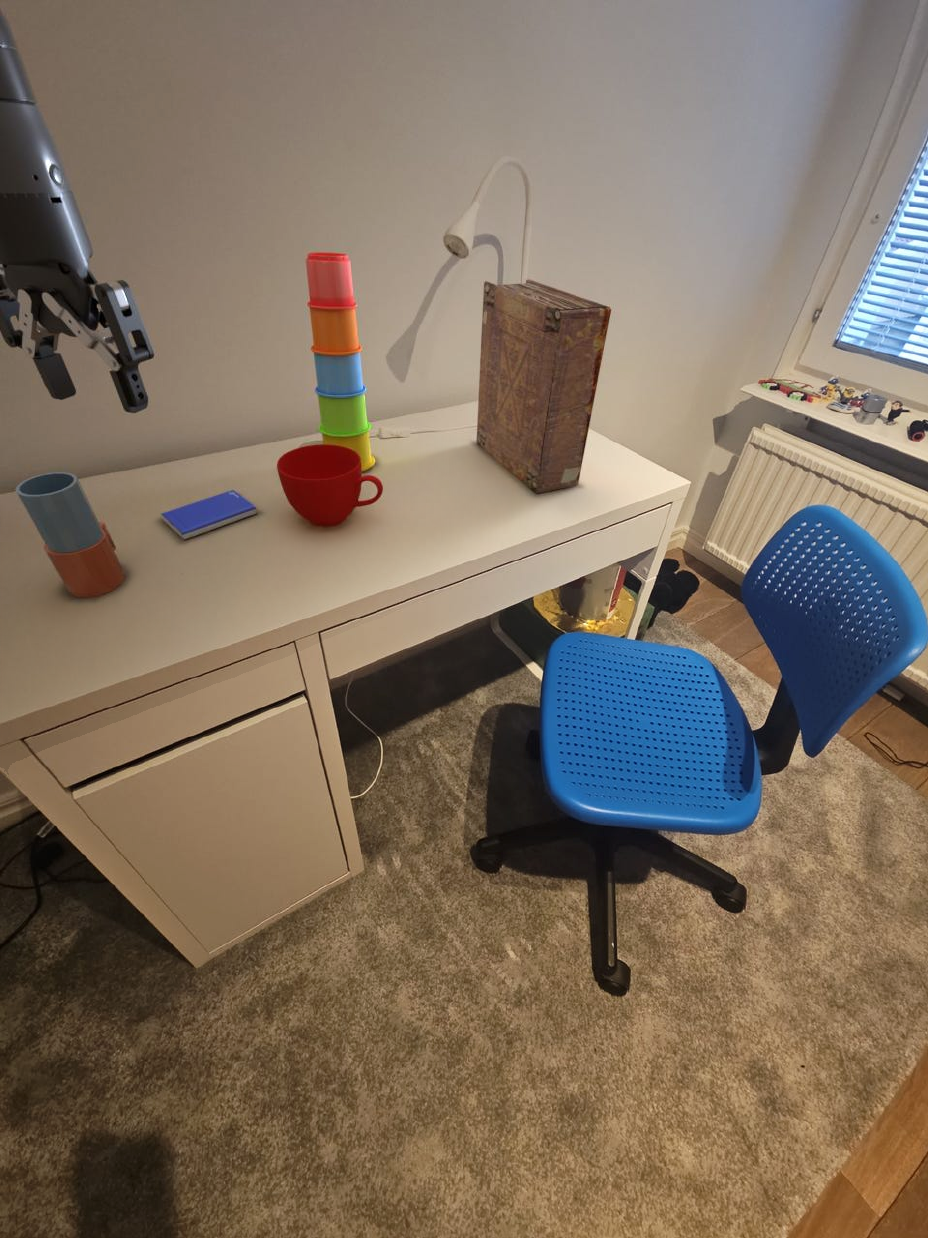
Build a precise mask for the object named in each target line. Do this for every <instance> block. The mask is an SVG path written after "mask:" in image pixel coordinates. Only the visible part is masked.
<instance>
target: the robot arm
mask: <svg viewBox="0 0 928 1238" xmlns="http://www.w3.org/2000/svg"><path fill="white" fill-rule="evenodd" d="M93 254H94V249H93V246H92V243H91V240H90V238H89V234H88V232H87V229H86V226H85V223H84V221H83V218H82V215H81V211H80V209H79V205H78V203H77V200H76V198H75V195H74V192H73V189H72V187H71V183H70V180H69V178H68V175H67V172H66V169H65V166H64V163H63V160H62V158H61V155H60V152H59V149H58V146H57V144H56V142H55V140H54V138H53V135H52V132H51V131H50V129H49V127H48V125H47V123H46V120H45V118H44V115H43V113H42V111H41V108H40V106H39V105H38V101H37V98H36V95H35V92H34V89H33V86H32V83H31V81H30V77H29V75H28V72H27V69H26V66H25V63H24V60H23V57H22V55H21V52H20V51H19V46H18V43H17V41H16V38H15V35H14V33H13V30H12V27H11V25H10V22H9V20H8V18H7V16H6V13H5V11H4V10H3V7H2V6H1V5H0V265H1V266H0V334H1V336H2V338H3V340H4V342H5V343H6V345H8V347H10V348H14V349H15V348H17V347H18V348H19V349H21V350H22V351H23V353H24V354H25V355H26V356H27V357H28V358H31V359H32V360H33V362H34V365H35V366H36V369H37V371H38V374H39V375H40V377H41V380H42V382H43V384H44V386H45V388H46V389H47V391H48V393H49V395H50V397H51V398H52V399H54V400H59V401H63V400H66V399H69V398H71V397H74V396H75V395H76V394H77V389H76V387H75V384H74V382H73V378H72V377H71V375H70V373H69V371H68V368H67V365H66V363H65V361H64V359H63V356H62V354H61V353H59V352H56V351H57V350H58V346H59V338H60V334H63V335H66V336H67V337H70V338H71V337H72V338H77V339H78V340H79V341H80V342H81V343H82V344H83V345H84V346H85V348H87V349H89V350H93V351H94V352H96V353H97V355H98V356H99V357H100V358H101V359H102V360H103V362H105V364H106V365H107V366H108V367H109V368H110V370H109V371H108V372H109V374H110V377H111V380H112V382H113V384H114V387H115V390H116V392H117V395H118V398H119V401H120V403H121V405H122V408H123V411H124V412H126V413H131V414H137V413H139V412H141V411H143V410H146V409H147V408H148V406H149V396H148V393H147V391H146V388H145V385H144V382H143V378H142V376H141V373H140V369H139V365H140V364H141V363H143V362H146V361H149V360H152V359H154V357H155V353H154V350H153V346H152V343H151V341H150V338H149V335H148V333H147V330H146V328H145V324H144V322H143V318H142V317H141V314H140V311H139V308H138V305H137V303H136V300H135V297H134V294H133V292H132V289H131V287H130V285H129V284H128V282H126V281H125V280H124V279H119V280H112V281H106V282H98V280H97V279H96V277H95V275H94V274H93V272H92V270H91V268H90V265H89V261H90V259H91V258H92V257H93ZM12 317H15V318H16V320H17V322H18V329H15V328H14V325H13V323H12V320H11V319H12ZM99 325H101V327H102V328H101V329H98V328H99ZM130 333H131V336H132V339H133V341H134V343H135V346H134V347H133V344H132V343H131V340H130V337H129V334H130ZM109 344H110V345H112V346H113V347H114V348H115V349H116V350H117V351H118V352H117V353H116V352H115V351H114V350H113V349H112V348H111V347H110V346H109Z"/></svg>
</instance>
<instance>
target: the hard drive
mask: <svg viewBox="0 0 928 1238" xmlns="http://www.w3.org/2000/svg"><path fill="white" fill-rule="evenodd" d="M256 514H258V509H257V507H256V506H255V505H254V504H253V503H252V502H251V501H249V500H248V499H247V498H245V497H244V496H243V495H241V494H240V493H239V492H237V491H236V490H235V489H231V490H228V491H225V492H222V493H219V494H216V495H212V496H210V497H206V498H203V499H201V500H197V501H195V502H192V503H189V504H185V505H183V506H180V507H176V508H173V509H170V510H168V511H165V512H161V513H160V515H161V518H162V521H164V522H165V523H166V525H167V526H169V527H170V528H171V529H172V530H173V531H174V533H176V534H177V535H178V536H179V537H180V538H181V539H182V540H186V539H190V538H193V537H196V536H198V535H201V534H204V533H206V532H209V531H212V530H215V529H217V528H218V529H219V528H221V527H223V526H225V525H229V524H231V523H235V522H236V521H239V520H242V519H244V518H247V517H250V516H253V515H256Z"/></svg>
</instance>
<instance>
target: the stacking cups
mask: <svg viewBox="0 0 928 1238" xmlns="http://www.w3.org/2000/svg"><path fill="white" fill-rule="evenodd" d="M348 258H349V257H348V254H346V253H340V252H325V251H324V252H318V251H317V252H316V251H315V252H308V253H307V257H306V258H305V264H306V265H305V266H306V277H307V285H308V287H307V288H308V295H309V301H308V302H307V303H306V304H307V307H309V314H310V323H311V332H312V333H311V334H312V343H313V345H311V347H310V351H311V352H312V353H313V359H314V366H315V376H316V377H315V378H316V384H317V386H316V387H315V388H314V393H315V394H316V395H317V401H318V407H319V417H320V424H319V425H318V427H317V428H318V429H317V430H318V432H319V433H320V434H321V438H322V444H329V445H339V446H343V447H347V448H350V449H352V450H354V451H355V452H357V453H358V454H359V456H360V457H361V466H362V473H363V472H366V471H368V470H370V469H371V468H373V467H374V465H375V464H376V458H375V457H374V456H373V455H372V449H371V441H370V431H371V429H372V424H371V423H370V422H369V421H368V417H367V408H366V397H365V393H366V392H367V387H366V386H365V385H364V382H363V371H362V361H361V352H362V351H363V347H362V345H360V344H359V337H358V336H359V335H358V325H357V324H358V323H357V316H356V315H357V314H356V308H357V307H358V303H357V302H355V298H354V288H353V287H354V286H353V277H352V266H351V265H352V264H351V260H350V259H348Z"/></svg>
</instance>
